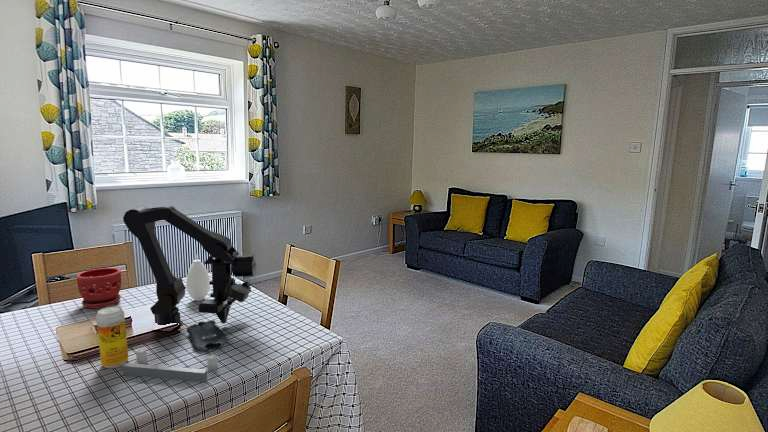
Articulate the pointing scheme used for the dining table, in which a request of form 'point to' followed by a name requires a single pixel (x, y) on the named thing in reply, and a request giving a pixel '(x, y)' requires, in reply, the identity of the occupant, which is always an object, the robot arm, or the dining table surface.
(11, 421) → the dining table surface
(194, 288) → the sauce bottle
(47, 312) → the dining table surface
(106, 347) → the yellow pill bottle
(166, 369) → the dock
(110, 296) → the plant pot
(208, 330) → the electronic device
